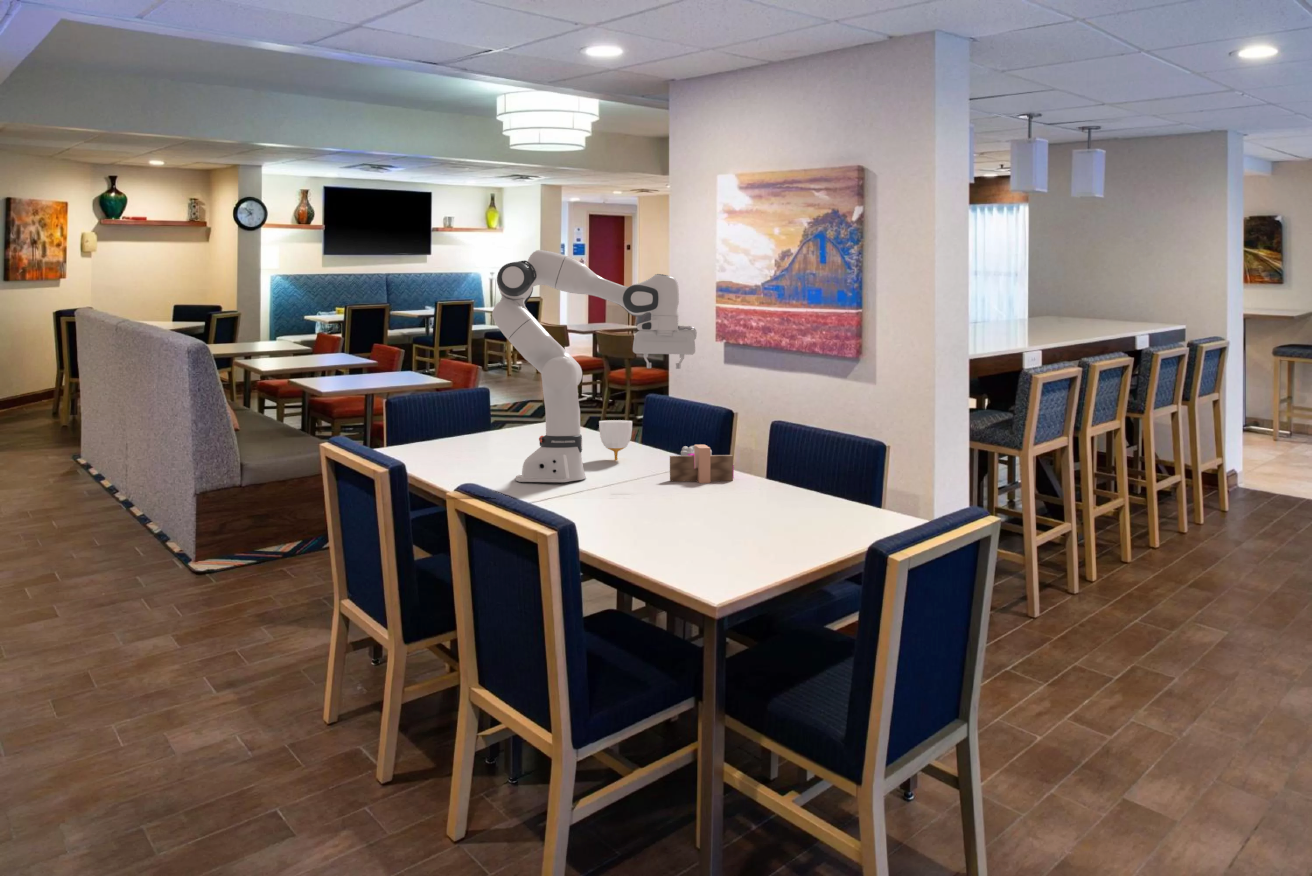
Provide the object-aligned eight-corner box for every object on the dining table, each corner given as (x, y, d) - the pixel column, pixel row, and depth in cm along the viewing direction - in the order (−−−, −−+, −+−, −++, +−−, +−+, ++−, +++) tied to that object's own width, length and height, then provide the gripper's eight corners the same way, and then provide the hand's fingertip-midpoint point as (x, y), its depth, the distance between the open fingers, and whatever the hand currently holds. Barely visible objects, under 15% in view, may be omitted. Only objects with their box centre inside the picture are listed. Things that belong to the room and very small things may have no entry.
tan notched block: (699, 483, 305) (699, 448, 304) (694, 478, 317) (694, 444, 316) (710, 482, 305) (710, 448, 304) (705, 478, 317) (705, 444, 316)
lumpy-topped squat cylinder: (713, 469, 342) (713, 444, 341) (708, 473, 329) (708, 448, 328) (684, 468, 343) (684, 444, 343) (678, 473, 331) (677, 448, 330)
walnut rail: (670, 481, 309) (670, 456, 308) (669, 480, 311) (669, 455, 310) (732, 480, 310) (732, 455, 309) (731, 479, 312) (731, 455, 311)
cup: (613, 466, 350) (612, 419, 349) (639, 469, 343) (639, 420, 342) (592, 470, 341) (592, 421, 339) (619, 472, 334) (618, 422, 332)
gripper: (695, 326, 316) (694, 368, 318) (633, 324, 315) (632, 367, 317) (697, 325, 310) (696, 369, 311) (633, 324, 309) (632, 367, 310)
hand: (663, 368), depth 314 cm, fingers open, 8 cm apart
